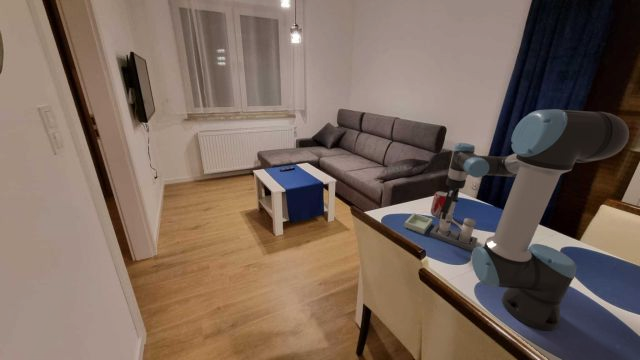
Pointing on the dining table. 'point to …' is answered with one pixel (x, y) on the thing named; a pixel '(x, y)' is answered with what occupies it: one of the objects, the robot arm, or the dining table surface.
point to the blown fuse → (445, 229)
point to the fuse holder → (458, 235)
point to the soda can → (438, 203)
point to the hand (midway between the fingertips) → (446, 218)
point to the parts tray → (418, 223)
